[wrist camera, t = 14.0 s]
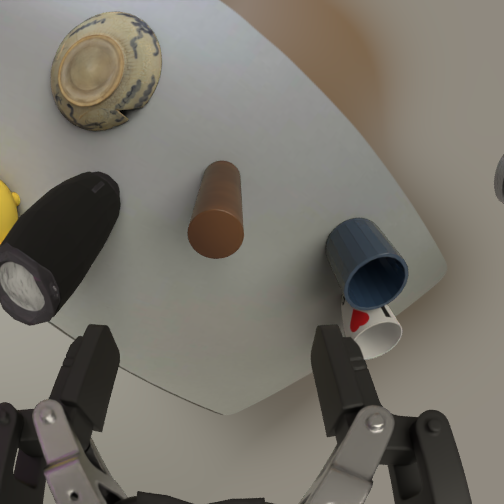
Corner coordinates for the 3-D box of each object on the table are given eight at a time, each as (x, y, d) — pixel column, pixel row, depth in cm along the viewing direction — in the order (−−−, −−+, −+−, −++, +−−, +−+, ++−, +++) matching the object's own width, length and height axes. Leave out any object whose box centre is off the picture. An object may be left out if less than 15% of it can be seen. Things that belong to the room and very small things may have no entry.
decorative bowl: (94, -4, 21) (33, 97, 27) (81, -11, 18) (17, 101, 23) (189, 47, 27) (116, 151, 32) (184, 43, 24) (105, 159, 29)
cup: (377, 269, 44) (403, 313, 35) (379, 305, 48) (401, 348, 40) (328, 285, 45) (347, 333, 36) (335, 319, 49) (351, 365, 41)
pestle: (231, 154, 34) (229, 200, 22) (246, 186, 36) (252, 247, 24) (197, 169, 34) (177, 223, 23) (213, 200, 37) (203, 266, 25)
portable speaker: (93, 238, 38) (28, 340, 22) (58, 183, 34) (-33, 267, 17) (139, 213, 37) (79, 322, 20) (103, 152, 32) (5, 227, 16)
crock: (375, 209, 38) (405, 242, 31) (384, 257, 43) (409, 295, 35) (318, 230, 40) (337, 270, 32) (333, 277, 44) (350, 319, 37)
